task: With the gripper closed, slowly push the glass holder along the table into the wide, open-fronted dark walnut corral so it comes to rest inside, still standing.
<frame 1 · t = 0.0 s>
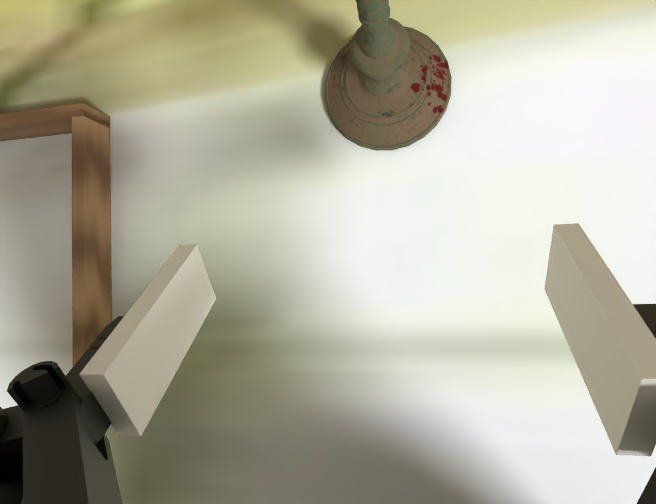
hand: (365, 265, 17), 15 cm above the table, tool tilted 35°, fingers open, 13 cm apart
candlestick holder: (387, 91, 32), on the table
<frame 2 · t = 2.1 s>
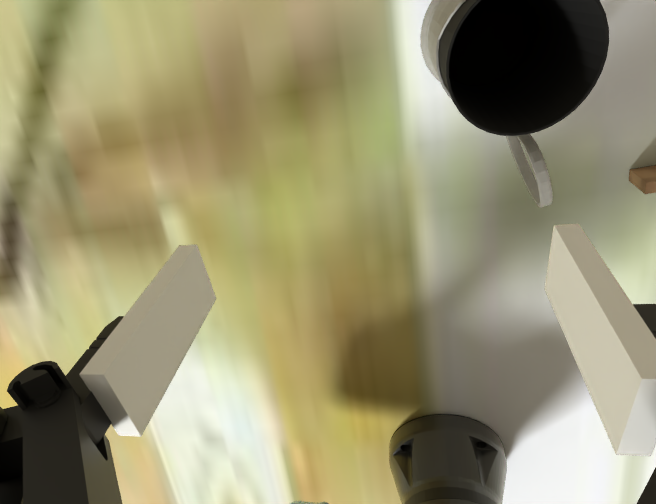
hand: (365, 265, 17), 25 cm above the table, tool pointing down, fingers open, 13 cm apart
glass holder: (485, 67, 36), on the table
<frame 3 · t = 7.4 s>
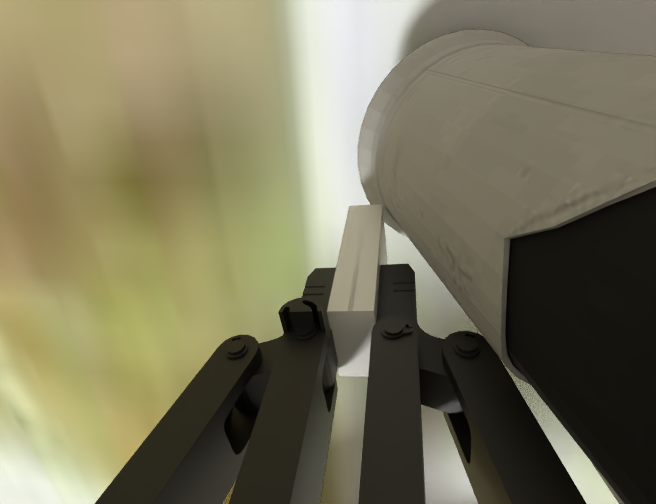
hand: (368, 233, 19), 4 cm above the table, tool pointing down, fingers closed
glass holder: (467, 204, 20), point 1 cm above the table, touching gripper, hand
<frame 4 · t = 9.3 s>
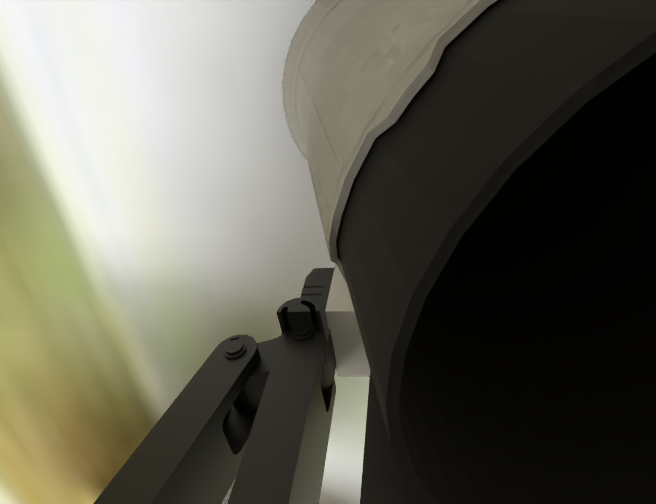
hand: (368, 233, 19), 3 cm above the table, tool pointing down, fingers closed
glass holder: (439, 130, 19), on the table, touching gripper, hand
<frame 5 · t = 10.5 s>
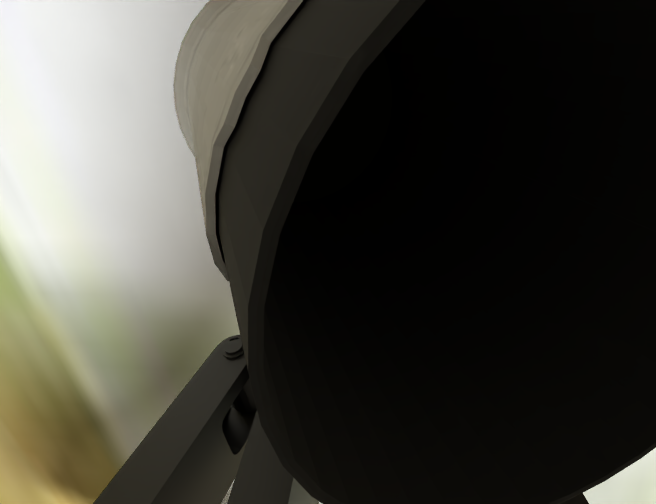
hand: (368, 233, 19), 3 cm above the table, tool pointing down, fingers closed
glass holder: (344, 130, 19), point 1 cm above the table
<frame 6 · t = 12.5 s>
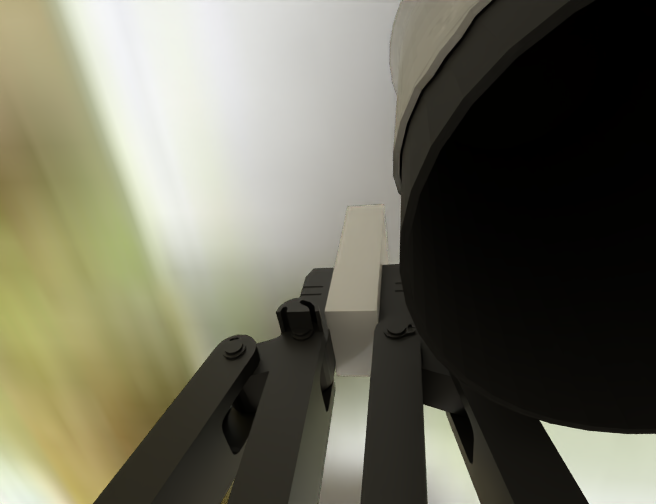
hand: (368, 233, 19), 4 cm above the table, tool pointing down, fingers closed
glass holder: (546, 86, 19), on the table
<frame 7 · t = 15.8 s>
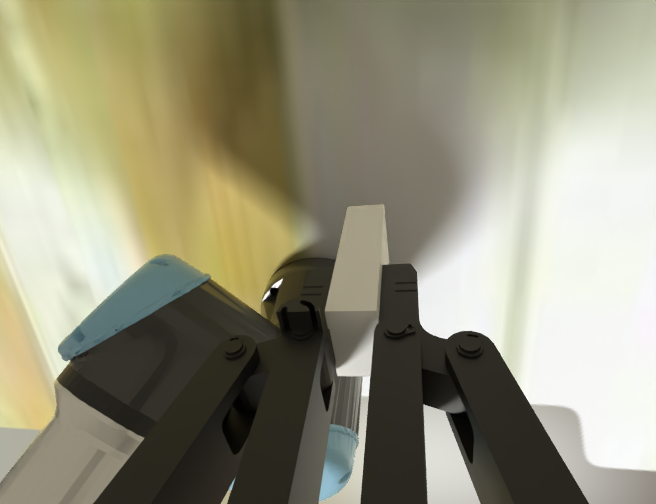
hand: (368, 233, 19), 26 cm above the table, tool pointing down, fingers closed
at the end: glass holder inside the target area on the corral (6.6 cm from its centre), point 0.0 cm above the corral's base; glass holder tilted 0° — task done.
